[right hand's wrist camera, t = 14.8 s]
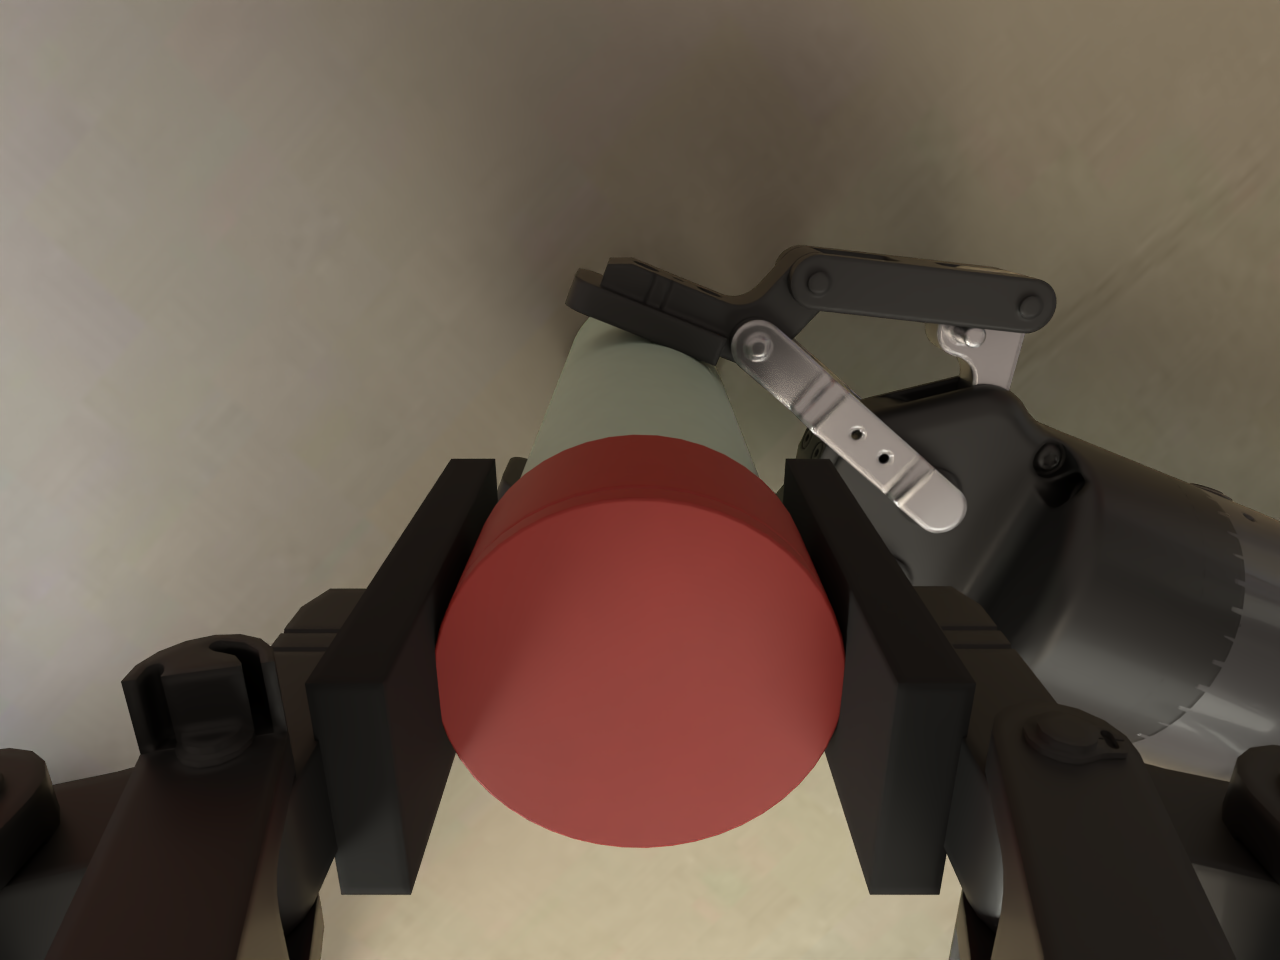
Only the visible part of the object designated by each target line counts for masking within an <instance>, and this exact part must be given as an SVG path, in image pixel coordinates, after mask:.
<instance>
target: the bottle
mask: <svg viewBox="0 0 1280 960" xmlns="http://www.w3.org/2000/svg"><path fill="white" fill-rule="evenodd" d="M624 435H658V436H665V437H671V438H678V439H683V440H686V441H690V442H693V443H697V444H700V445H704V446H706V447H708V448H711V449H713V450H715V451H718V452H720V453H722V454H725V455H726V456H728V457H730V458H731V459H733V460H735V461H736V462H738V463H740V464H741V465H743V466H745V467H746V468H747V469H748V470H750V471H751V472H752V473H754V474H755V475H756V476H757V477H759V476H758V473H757V471H756V468H755V466H754V463H753V461H752V458H751V455H750V453H749V450H748V448H747V445H746V443H745V440H744V437H743V435H742V432H741V430H740V427H739V424H738V422H737V419H736V417H735V414H734V412H733V409H732V406H731V404H730V401H729V399H728V396H727V394H726V391H725V388H724V386H723V383H722V381H721V378H720V376H719V373H718V370H717V368H716V366H713V365H711V364H708V363H706V362H703V361H701V360H698V359H696V358H693V357H691V356H688V355H685V354H684V353H682V352H679V351H676V350H674V349H671V348H668V347H665V346H663V345H660V344H658V343H655V342H653V341H650V340H647V339H645V338H642V337H640V336H637V335H635V334H632V333H630V332H627V331H625V330H622V329H620V328H617V327H615V326H612V325H610V324H607V323H604V322H602V321H599V320H597V319H594V318H592V317H589V318H588V319H587V320H586V322H585V323H584V324H583V325H582V327H581V328H580V330H579V331H578V333H577V335H576V337H575V339H574V341H573V344H572V347H571V349H570V352H569V354H568V357H567V359H566V362H565V365H564V367H563V370H562V372H561V375H560V377H559V380H558V383H557V385H556V388H555V390H554V393H553V395H552V398H551V401H550V403H549V406H548V408H547V411H546V413H545V416H544V419H543V421H542V424H541V426H540V429H539V431H538V434H537V437H536V439H535V442H534V444H533V447H532V449H531V452H530V455H529V457H528V460H527V462H526V465H525V467H524V470H523V473H522V475H521V477H522V476H523V475H524V474H526V473H527V472H529V471H530V470H531V469H533V468H534V467H536V466H537V465H538V464H540V463H541V462H543V461H544V460H546V459H548V458H550V457H552V456H554V455H556V454H558V453H560V452H562V451H564V450H566V449H569V448H572V447H574V446H577V445H580V444H583V443H585V442H589V441H594V440H598V439H603V438H607V437H614V436H624Z"/></svg>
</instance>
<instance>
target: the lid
mask: <svg viewBox="0 0 1280 960" xmlns="http://www.w3.org/2000/svg"><path fill="white" fill-rule="evenodd" d="M435 658H436V669H437V679H438V688H439V698H440V707H441V716H442V723H443V726H444V729H445V731H446V734H447V736H448V739H449V741H450V742H451V744H452V746H453V748H454V749H455V751H456V753H457V755H458V756H459V758H460V760H461V761H462V762H463V764H464V765H465V766H466V767H467V769H468V770H469V771H470V773H471V774H472V775H473V777H474V778H475V779H476V780H477V781H478V782H479V783H480V784H481V785H482V786H483V787H484V788H485V789H486V790H487V791H488V792H489V793H490V794H491V795H493V796H494V797H495V798H497V799H498V800H499V801H500V802H502V803H503V804H504V805H505V806H507V807H508V808H509V809H511V810H513V811H514V812H516V813H518V814H519V815H521V816H522V817H524V818H526V819H527V820H529V821H531V822H533V823H535V824H537V825H540V826H542V827H544V828H546V829H548V830H550V831H553V832H556V833H559V834H562V835H565V836H568V837H570V838H573V839H577V840H582V841H586V842H591V843H595V844H600V845H609V846H617V847H637V848H650V847H662V846H673V845H678V844H684V843H689V842H695V841H698V840H702V839H705V838H709V837H712V836H716V835H719V834H721V833H724V832H726V831H729V830H731V829H733V828H736V827H738V826H741V825H743V824H745V823H746V822H748V821H750V820H752V819H754V818H756V817H757V816H759V815H761V814H763V813H764V812H766V811H767V810H768V809H770V808H771V807H773V806H774V805H775V804H777V803H778V802H780V801H781V800H782V799H783V798H785V797H786V796H787V795H788V794H789V793H790V792H791V791H792V790H793V789H794V788H796V787H797V786H798V785H799V784H800V783H801V782H802V780H803V779H804V778H805V777H806V776H807V775H808V773H809V772H810V771H811V770H812V769H813V768H814V766H815V765H816V763H817V762H818V760H819V759H820V757H821V755H822V754H823V752H824V751H825V749H826V748H827V746H828V744H829V741H830V739H831V737H832V735H833V733H834V731H835V729H836V726H837V723H838V720H839V714H840V706H841V697H842V687H843V678H844V667H845V649H844V643H843V637H842V633H841V630H840V627H839V624H838V621H837V618H836V615H835V612H834V610H833V608H832V605H831V603H830V601H829V599H828V597H827V594H826V592H825V590H824V587H823V585H822V583H821V580H820V578H819V576H818V574H817V571H816V569H815V567H814V564H813V562H812V560H811V558H810V555H809V553H808V551H807V549H806V546H805V544H804V542H803V539H802V537H801V535H800V533H799V531H798V529H797V527H796V525H795V523H794V521H793V519H792V517H791V515H790V513H789V512H788V510H787V509H786V508H785V506H784V505H783V503H782V502H781V501H780V499H779V498H778V497H777V495H776V494H775V493H774V492H773V491H772V490H771V489H770V488H769V487H768V486H767V485H766V484H765V483H764V482H763V481H762V480H761V479H760V478H759V477H757V476H756V475H755V474H754V473H752V472H751V471H750V470H748V469H747V468H746V467H745V466H743V465H741V464H740V463H738V462H736V461H735V460H733V459H731V458H730V457H728V456H726V455H725V454H722V453H720V452H718V451H715V450H713V449H711V448H708V447H706V446H704V445H700V444H697V443H693V442H690V441H686V440H683V439H678V438H671V437H665V436H658V435H624V436H614V437H607V438H603V439H598V440H594V441H589V442H585V443H583V444H580V445H577V446H574V447H572V448H569V449H566V450H564V451H562V452H560V453H558V454H556V455H554V456H552V457H550V458H548V459H546V460H544V461H543V462H541V463H540V464H538V465H537V466H536V467H534V468H533V469H531V470H530V471H529V472H527V473H526V474H524V475H523V476H522V477H521V478H520V479H519V480H518V481H517V482H516V483H515V484H514V485H513V486H511V487H510V488H509V489H508V491H507V492H506V493H505V494H504V495H503V497H502V498H501V499H500V500H499V502H498V503H497V504H496V505H495V507H494V508H493V510H492V512H491V513H490V515H489V517H488V518H487V520H486V522H485V524H484V526H483V528H482V530H481V532H480V535H479V537H478V539H477V541H476V544H475V546H474V548H473V551H472V553H471V555H470V557H469V560H468V562H467V564H466V566H465V569H464V571H463V573H462V576H461V578H460V580H459V582H458V585H457V587H456V589H455V592H454V594H453V596H452V598H451V600H450V603H449V605H448V608H447V610H446V612H445V615H444V617H443V620H442V622H441V625H440V628H439V632H438V637H437V641H436V645H435Z"/></svg>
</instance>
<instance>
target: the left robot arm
mask: <svg viewBox="0 0 1280 960" xmlns="http://www.w3.org/2000/svg"><path fill="white" fill-rule="evenodd" d="M565 304H566V305H567V306H568V307H570V308H571V309H573V310H575V311H577V312H579V313H582V314H584V315H587V316H589V317H592V318H594V319H597V320H599V321H602V322H604V323H607V324H610V325H612V326H615V327H617V328H620V329H622V330H625V331H627V332H630V333H632V334H635V335H637V336H640V337H642V338H645V339H647V340H650V341H653V342H655V343H658V344H660V345H663V346H665V347H668V348H671V349H674V350H676V351H679V352H682V353H684V354H685V355H688V356H691V357H693V358H696V359H698V360H701V361H703V362H706V363H708V364H711V365H713V366H716V364H717V361H718V359H719V357H722V358H725V359H727V360H730V361H732V362H735V363H737V364H738V366H739V367H741V368H742V369H743V370H744V371H745V372H746V373H748V374H749V375H750V376H751V377H752V378H753V379H755V380H756V381H757V382H758V383H759V384H760V385H762V386H763V387H764V388H765V389H766V390H767V391H768V392H770V393H771V394H772V395H773V396H774V397H775V398H777V399H778V400H779V401H780V402H781V403H782V404H784V405H785V406H786V407H787V408H788V409H789V410H790V411H792V412H793V413H794V414H795V415H796V416H797V417H798V419H799V420H800V421H801V422H802V423H803V424H804V425H805V426H806V427H807V429H806V431H805V433H804V435H803V437H802V439H801V441H800V443H799V446H798V451H797V456H796V459H830V460H831V462H832V463H833V465H834V466H835V468H836V469H837V471H838V472H839V474H840V475H841V477H842V479H843V480H844V482H845V483H846V485H847V486H848V488H849V489H850V491H851V492H852V494H853V495H854V497H855V498H856V500H857V502H858V503H859V505H860V506H861V508H862V509H863V511H864V512H865V514H866V515H867V517H868V518H869V520H870V521H871V523H872V524H873V526H874V528H875V529H876V531H877V532H878V534H879V535H880V537H881V538H882V540H883V541H884V543H885V544H886V546H887V547H888V549H889V550H890V552H891V554H892V555H893V557H894V558H895V560H896V561H897V563H898V564H899V566H900V567H901V569H902V570H903V572H904V573H905V575H906V577H907V578H908V580H909V581H910V583H911V584H912V586H952V587H953V588H955V589H956V590H958V591H960V592H961V593H963V594H964V595H966V596H968V597H969V598H971V599H972V600H974V601H975V602H977V603H979V604H980V605H981V606H982V607H983V609H984V610H985V611H986V613H987V614H988V615H989V616H990V618H991V619H992V620H993V621H994V623H995V624H996V625H997V630H998V631H1001V632H1002V633H1003V634H1004V636H1005V637H1006V638H1007V639H1008V641H1009V642H1010V643H1011V648H1012V649H1015V650H1016V651H1017V652H1018V654H1019V655H1020V656H1021V657H1022V659H1023V660H1024V661H1025V662H1026V664H1027V665H1028V666H1029V668H1030V669H1031V670H1032V671H1033V673H1034V674H1035V675H1036V677H1037V678H1038V679H1039V680H1040V682H1041V683H1042V684H1043V686H1044V687H1045V688H1046V689H1047V691H1048V692H1049V693H1050V694H1051V696H1052V697H1053V698H1054V700H1055V701H1056V702H1057V703H1058V704H1061V705H1065V706H1069V707H1074V708H1078V709H1080V710H1082V711H1085V712H1087V713H1089V714H1091V715H1094V716H1096V717H1098V718H1100V719H1103V720H1105V721H1106V722H1108V723H1109V724H1110V725H1112V726H1113V727H1115V728H1116V729H1117V730H1119V731H1120V732H1122V733H1123V734H1124V735H1126V736H1127V737H1128V739H1129V740H1130V741H1131V743H1132V744H1133V745H1134V747H1135V748H1136V749H1137V750H1138V752H1139V753H1140V755H1141V757H1142V759H1143V761H1144V763H1146V764H1150V765H1154V766H1157V767H1161V768H1165V769H1170V770H1175V771H1180V772H1184V773H1189V774H1194V775H1199V776H1204V777H1209V778H1214V779H1218V780H1223V781H1228V782H1230V779H1231V776H1232V773H1233V770H1234V767H1235V764H1236V760H1237V757H1239V756H1240V755H1241V754H1243V753H1244V752H1245V751H1246V750H1248V749H1249V748H1251V747H1259V746H1266V745H1280V522H1279V521H1277V520H1275V519H1273V518H1271V517H1269V516H1266V515H1264V514H1262V513H1259V512H1257V511H1254V510H1252V509H1250V508H1247V507H1245V506H1242V505H1240V504H1238V503H1235V502H1233V500H1232V499H1231V498H1229V497H1227V496H1225V495H1223V493H1222V492H1220V491H1217V490H1215V489H1212V488H1209V487H1205V486H1202V485H1198V484H1193V483H1190V484H1189V483H1186V482H1184V481H1181V480H1179V479H1177V478H1174V477H1172V476H1169V475H1167V474H1164V473H1162V472H1159V471H1157V470H1154V469H1152V468H1149V467H1147V466H1144V465H1142V464H1140V463H1137V462H1135V461H1132V460H1130V459H1127V458H1125V457H1122V456H1120V455H1117V454H1115V453H1113V452H1110V451H1108V450H1105V449H1103V448H1100V447H1098V446H1095V445H1093V444H1090V443H1088V442H1085V441H1083V440H1081V439H1078V438H1076V437H1073V436H1071V435H1068V434H1066V433H1063V432H1061V431H1058V430H1056V429H1054V428H1051V427H1049V426H1046V425H1044V424H1041V423H1039V422H1037V421H1035V419H1034V418H1033V417H1032V416H1031V415H1030V414H1029V413H1028V411H1027V409H1026V408H1025V406H1024V404H1023V403H1022V402H1021V400H1020V399H1019V398H1018V397H1017V396H1016V395H1014V394H1013V393H1012V392H1010V391H1009V390H1010V386H1011V382H1012V379H1013V375H1014V372H1015V368H1016V364H1017V361H1018V357H1019V354H1020V350H1021V347H1022V343H1023V339H1024V336H1025V333H1032V332H1035V331H1037V330H1039V329H1041V328H1042V327H1044V326H1045V325H1046V324H1047V323H1048V322H1049V321H1050V319H1051V318H1052V316H1053V314H1054V312H1055V309H1056V295H1055V292H1054V290H1053V289H1052V287H1051V286H1050V285H1049V284H1048V283H1046V282H1045V281H1042V280H1039V279H1035V278H1032V277H1028V276H1024V275H1021V274H1017V273H1013V272H1010V271H1006V270H1003V269H999V268H995V267H988V266H979V265H971V264H962V263H953V262H945V261H936V260H927V259H918V258H910V257H901V256H892V255H883V254H875V253H866V252H857V251H848V250H840V249H831V248H822V247H814V246H805V245H797V246H792V247H790V248H788V249H786V250H785V251H784V252H783V253H782V254H781V255H780V256H779V258H778V259H777V261H776V264H775V267H774V268H773V269H772V270H771V271H770V272H769V273H768V275H767V276H766V277H765V278H764V279H763V280H762V281H761V282H760V283H759V284H758V285H757V286H756V287H755V288H754V289H753V290H751V291H750V292H748V293H746V294H743V295H739V296H727V295H723V294H720V293H718V292H715V291H713V290H710V289H708V288H706V287H703V286H701V285H698V284H696V283H693V282H691V281H688V280H686V279H683V278H681V277H679V276H676V275H674V274H671V273H669V272H666V271H664V270H661V269H659V268H656V267H654V266H652V265H649V264H647V263H644V262H642V261H639V260H637V259H634V258H610V259H609V262H608V265H607V267H606V270H605V273H604V275H601V274H598V273H596V272H593V271H590V270H587V269H582V268H579V270H578V271H577V273H576V275H575V277H574V280H573V283H572V286H571V288H570V291H569V294H568V297H567V300H566V302H565ZM819 311H826V312H835V313H844V314H853V315H862V316H870V317H879V318H888V319H897V320H906V321H915V322H924V323H925V332H926V335H927V338H928V339H929V341H930V342H931V343H932V344H933V345H935V346H936V347H938V348H940V349H942V350H943V351H945V352H947V353H948V354H950V355H953V356H956V358H957V359H958V362H959V365H960V374H959V376H955V377H951V378H947V379H943V380H938V381H934V382H930V383H926V384H922V385H918V386H914V387H910V388H906V389H901V390H897V391H893V392H889V393H885V394H881V395H877V396H873V397H868V398H864V399H862V398H861V397H860V396H859V395H858V394H856V393H855V392H854V391H853V390H852V389H851V388H850V387H849V386H847V385H846V384H845V383H844V382H843V381H842V380H841V379H840V378H838V377H837V376H836V375H835V374H834V373H833V372H832V371H831V370H829V369H828V368H827V367H826V366H825V365H824V364H823V363H822V362H820V361H819V360H818V359H817V358H816V357H815V356H814V355H812V354H811V353H810V352H809V351H807V350H806V349H805V348H804V347H803V346H802V345H801V344H799V343H798V342H797V341H796V340H795V339H794V337H795V336H796V335H797V334H798V333H799V332H800V331H801V330H802V329H803V328H804V327H805V326H806V325H807V324H808V323H809V322H810V321H811V320H812V319H813V318H814V316H815V315H816V314H817V313H818V312H819ZM527 460H528V459H526V458H521V457H513V458H511V459H510V460H509V463H508V465H507V467H506V469H505V472H504V474H503V476H502V479H501V482H500V485H499V487H498V490H497V494H498V502H499V500H500V499H501V498H502V497H503V495H504V494H505V493H506V492H507V491H508V489H509V488H510V487H511V486H513V485H514V484H515V483H516V482H517V481H518V480H519V479H520V478H521V475H522V473H523V470H524V467H525V465H526V462H527ZM783 492H784V485H783V486H782V487H781V488H780V490H779V491H778V492H777V493H776V495H777V497H778V498H779V499H780V501H781V502H782V503H783Z"/></svg>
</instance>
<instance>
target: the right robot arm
mask: <svg viewBox="0 0 1280 960" xmlns="http://www.w3.org/2000/svg"><path fill="white" fill-rule="evenodd" d="M497 503H498V494H497V479H496V464H495V459H451V460H450V462H449V463H448V465H447V466H446V468H445V469H444V471H443V472H442V474H441V475H440V477H439V478H438V480H437V481H436V483H435V485H434V486H433V488H432V489H431V491H430V492H429V494H428V495H427V497H426V498H425V500H424V501H423V503H422V504H421V506H420V507H419V509H418V511H417V512H416V514H415V515H414V517H413V518H412V520H411V521H410V523H409V524H408V526H407V527H406V529H405V530H404V532H403V534H402V535H401V537H400V538H399V540H398V541H397V543H396V544H395V546H394V547H393V549H392V550H391V552H390V553H389V555H388V557H387V558H386V560H385V561H384V563H383V564H382V566H381V567H380V569H379V570H378V572H377V573H376V575H375V576H374V578H373V579H372V581H371V583H370V584H369V586H368V587H367V589H329V590H327V591H326V592H324V593H323V594H321V595H320V596H318V597H316V598H315V599H313V600H312V601H310V602H309V603H307V604H305V605H304V606H302V607H301V608H300V609H299V611H298V612H297V613H296V614H295V616H294V617H293V618H292V620H291V621H290V622H289V624H288V625H287V626H286V627H285V629H284V633H281V634H280V635H279V636H278V638H277V639H276V640H275V642H274V643H273V644H272V645H271V646H270V645H268V644H267V643H266V642H264V641H263V640H262V639H260V638H255V637H251V636H246V635H242V634H232V635H212V636H208V637H203V638H198V639H193V640H189V641H185V642H182V643H180V644H177V645H174V646H172V647H169V648H167V649H164V650H161V651H159V652H157V653H155V654H154V655H152V656H151V657H149V658H147V659H146V660H144V661H142V662H141V663H139V664H138V665H136V666H135V667H134V668H133V669H132V670H131V671H130V672H129V673H128V674H127V676H126V677H125V678H124V679H123V680H122V681H121V683H122V687H123V691H124V695H125V698H126V702H127V706H128V709H129V713H130V717H131V721H132V724H133V728H134V732H135V735H136V739H137V743H138V747H139V750H140V756H139V759H138V761H137V763H136V765H135V767H133V768H129V769H126V770H122V771H118V772H114V773H109V774H104V775H99V776H94V777H90V778H85V779H80V780H75V781H70V782H65V783H61V784H56V785H52V782H51V779H50V775H49V772H48V769H47V766H46V763H45V761H44V760H43V759H42V758H40V757H39V756H38V755H37V754H35V753H34V752H33V751H27V750H20V749H13V748H6V749H0V960H320V958H321V950H322V941H323V933H324V922H323V915H322V908H321V902H320V897H319V891H320V888H321V886H322V884H323V882H324V879H325V877H326V875H327V873H328V870H329V868H330V866H331V864H332V861H333V859H334V857H335V860H336V866H337V872H338V878H339V883H340V889H341V895H411V893H412V890H413V886H414V883H415V880H416V877H417V874H418V871H419V867H420V864H421V861H422V858H423V855H424V852H425V848H426V845H427V842H428V839H429V836H430V833H431V829H432V826H433V823H434V820H435V817H436V814H437V810H438V807H439V804H440V801H441V798H442V795H443V791H444V788H445V785H446V782H447V779H448V776H449V772H450V769H451V766H452V763H453V760H454V757H455V753H456V751H455V749H454V748H453V746H452V744H451V742H450V741H449V739H448V736H447V734H446V731H445V729H444V726H443V723H442V716H441V707H440V698H439V688H438V679H437V669H436V658H435V645H436V641H437V637H438V632H439V628H440V625H441V622H442V620H443V617H444V615H445V612H446V610H447V608H448V605H449V603H450V600H451V598H452V596H453V594H454V592H455V589H456V587H457V585H458V582H459V580H460V578H461V576H462V573H463V571H464V569H465V566H466V564H467V562H468V560H469V557H470V555H471V553H472V551H473V548H474V546H475V544H476V541H477V539H478V537H479V535H480V532H481V530H482V528H483V526H484V524H485V522H486V520H487V518H488V517H489V515H490V513H491V512H492V510H493V508H494V507H495V505H496V504H497ZM783 505H784V506H785V508H786V509H787V510H788V512H789V513H790V515H791V517H792V519H793V521H794V523H795V525H796V527H797V529H798V531H799V533H800V535H801V537H802V539H803V542H804V544H805V546H806V549H807V551H808V553H809V555H810V558H811V560H812V562H813V564H814V567H815V569H816V571H817V574H818V576H819V578H820V580H821V583H822V585H823V587H824V590H825V592H826V594H827V597H828V599H829V601H830V603H831V605H832V608H833V610H834V612H835V615H836V618H837V621H838V624H839V627H840V630H841V633H842V637H843V643H844V649H845V667H844V678H843V687H842V697H841V706H840V714H839V720H838V723H837V726H836V729H835V731H834V733H833V735H832V737H831V739H830V741H829V744H828V746H827V748H826V749H825V754H826V757H827V760H828V763H829V767H830V770H831V773H832V776H833V779H834V782H835V786H836V789H837V792H838V795H839V798H840V801H841V805H842V808H843V811H844V814H845V817H846V820H847V824H848V827H849V830H850V833H851V836H852V839H853V843H854V846H855V849H856V852H857V855H858V858H859V862H860V865H861V868H862V871H863V874H864V877H865V881H866V884H867V887H868V890H869V893H870V895H939V894H940V888H941V883H942V877H943V871H944V865H945V860H946V854H947V855H948V857H949V860H950V862H951V864H952V866H953V869H954V871H955V873H956V875H957V878H958V880H959V882H960V884H961V887H962V892H961V897H960V902H959V908H958V913H957V918H956V924H955V929H954V935H953V940H952V945H951V951H950V956H949V960H1280V745H1266V746H1259V747H1251V748H1249V749H1248V750H1246V751H1245V752H1244V753H1243V754H1241V755H1240V756H1239V757H1237V760H1236V764H1235V767H1234V770H1233V773H1232V776H1231V779H1230V782H1228V781H1223V780H1218V779H1214V778H1209V777H1204V776H1199V775H1194V774H1189V773H1184V772H1180V771H1175V770H1170V769H1165V768H1161V767H1157V766H1154V765H1150V764H1146V763H1144V761H1143V759H1142V757H1141V755H1140V753H1139V752H1138V750H1137V749H1136V748H1135V747H1134V745H1133V744H1132V743H1131V741H1130V740H1129V739H1128V737H1127V736H1126V735H1124V734H1123V733H1122V732H1120V731H1119V730H1117V729H1116V728H1115V727H1113V726H1112V725H1110V724H1109V723H1108V722H1106V721H1105V720H1103V719H1100V718H1098V717H1096V716H1094V715H1091V714H1089V713H1087V712H1085V711H1082V710H1080V709H1078V708H1074V707H1069V706H1065V705H1061V704H1058V703H1057V702H1056V701H1055V700H1054V698H1053V697H1052V696H1051V694H1050V693H1049V692H1048V691H1047V689H1046V688H1045V687H1044V686H1043V684H1042V683H1041V682H1040V680H1039V679H1038V678H1037V677H1036V675H1035V674H1034V673H1033V671H1032V670H1031V669H1030V668H1029V666H1028V665H1027V664H1026V662H1025V661H1024V660H1023V659H1022V657H1021V656H1020V655H1019V654H1018V652H1017V651H1016V650H1015V649H1012V648H1011V643H1010V642H1009V641H1008V639H1007V638H1006V637H1005V636H1004V634H1003V633H1002V632H1001V631H998V630H997V625H996V624H995V623H994V621H993V620H992V619H991V618H990V616H989V615H988V614H987V613H986V611H985V610H984V609H983V607H982V606H981V605H980V604H979V603H977V602H975V601H974V600H972V599H971V598H969V597H968V596H966V595H964V594H963V593H961V592H960V591H958V590H956V589H955V588H953V587H952V586H912V584H911V583H910V581H909V580H908V578H907V577H906V575H905V573H904V572H903V570H902V569H901V567H900V566H899V564H898V563H897V561H896V560H895V558H894V557H893V555H892V554H891V552H890V550H889V549H888V547H887V546H886V544H885V543H884V541H883V540H882V538H881V537H880V535H879V534H878V532H877V531H876V529H875V528H874V526H873V524H872V523H871V521H870V520H869V518H868V517H867V515H866V514H865V512H864V511H863V509H862V508H861V506H860V505H859V503H858V502H857V500H856V498H855V497H854V495H853V494H852V492H851V491H850V489H849V488H848V486H847V485H846V483H845V482H844V480H843V479H842V477H841V475H840V474H839V472H838V471H837V469H836V468H835V466H834V465H833V463H832V462H831V460H830V459H786V462H785V477H784V492H783Z"/></svg>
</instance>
